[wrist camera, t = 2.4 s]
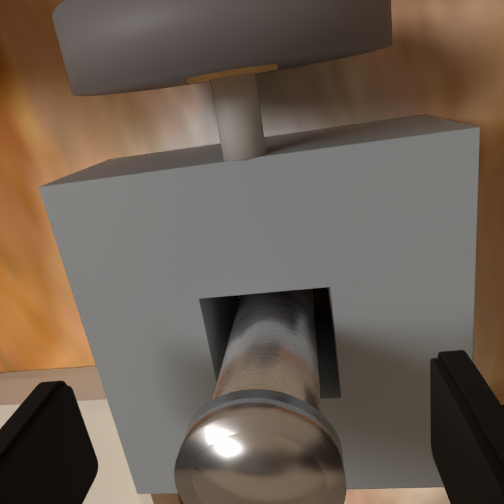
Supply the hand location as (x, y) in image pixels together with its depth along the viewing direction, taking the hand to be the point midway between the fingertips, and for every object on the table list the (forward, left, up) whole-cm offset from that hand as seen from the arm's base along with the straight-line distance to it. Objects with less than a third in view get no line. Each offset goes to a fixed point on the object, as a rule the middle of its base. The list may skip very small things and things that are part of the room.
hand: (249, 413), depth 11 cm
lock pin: (0, 0, -8) cm, 8 cm away
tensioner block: (0, -2, -8) cm, 8 cm away
